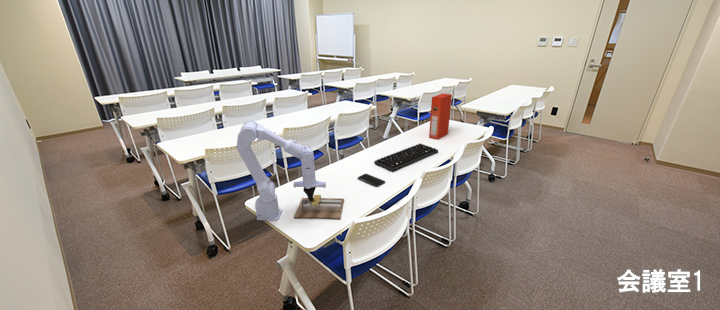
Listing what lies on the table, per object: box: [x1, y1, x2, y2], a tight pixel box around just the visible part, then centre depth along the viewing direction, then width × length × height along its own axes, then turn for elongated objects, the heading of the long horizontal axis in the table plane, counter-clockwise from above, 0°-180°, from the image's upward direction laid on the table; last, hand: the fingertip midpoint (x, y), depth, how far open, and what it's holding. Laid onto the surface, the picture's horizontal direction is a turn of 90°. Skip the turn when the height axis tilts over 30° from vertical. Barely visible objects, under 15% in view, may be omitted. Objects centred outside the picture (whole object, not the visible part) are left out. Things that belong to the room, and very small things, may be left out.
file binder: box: [428, 93, 453, 140], centre depth 223 cm, size 8×17×32 cm, turn 139°
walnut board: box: [293, 197, 345, 221], centre depth 136 cm, size 21×16×1 cm
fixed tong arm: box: [301, 199, 341, 212], centre depth 134 cm, size 18×4×4 cm, turn 87°
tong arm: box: [309, 200, 342, 206], centre depth 136 cm, size 15×2×3 cm, turn 87°
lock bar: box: [312, 194, 322, 206], centre depth 133 cm, size 3×6×2 cm, turn 177°
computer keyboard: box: [373, 143, 439, 173], centre depth 189 cm, size 45×16×4 cm, turn 131°
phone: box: [357, 173, 386, 188], centre depth 162 cm, size 8×1×15 cm
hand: (311, 200), depth 134 cm, fingers closed
